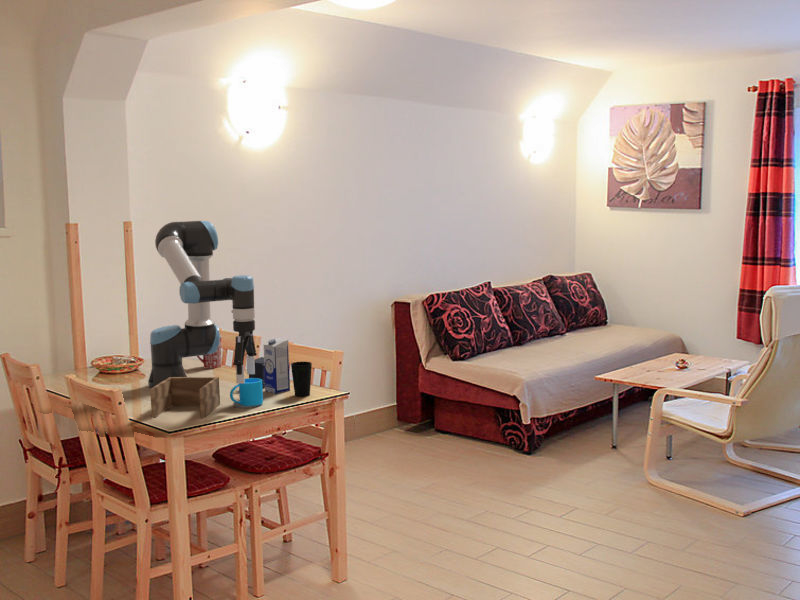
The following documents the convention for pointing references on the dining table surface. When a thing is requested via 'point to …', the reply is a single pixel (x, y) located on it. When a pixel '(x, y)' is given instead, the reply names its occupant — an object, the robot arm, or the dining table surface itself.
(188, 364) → the dining table surface
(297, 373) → the cup
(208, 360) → the mug
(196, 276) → the robot arm
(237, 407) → the coaster
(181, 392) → the crate
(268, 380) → the milk carton
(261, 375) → the small box
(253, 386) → the mug
